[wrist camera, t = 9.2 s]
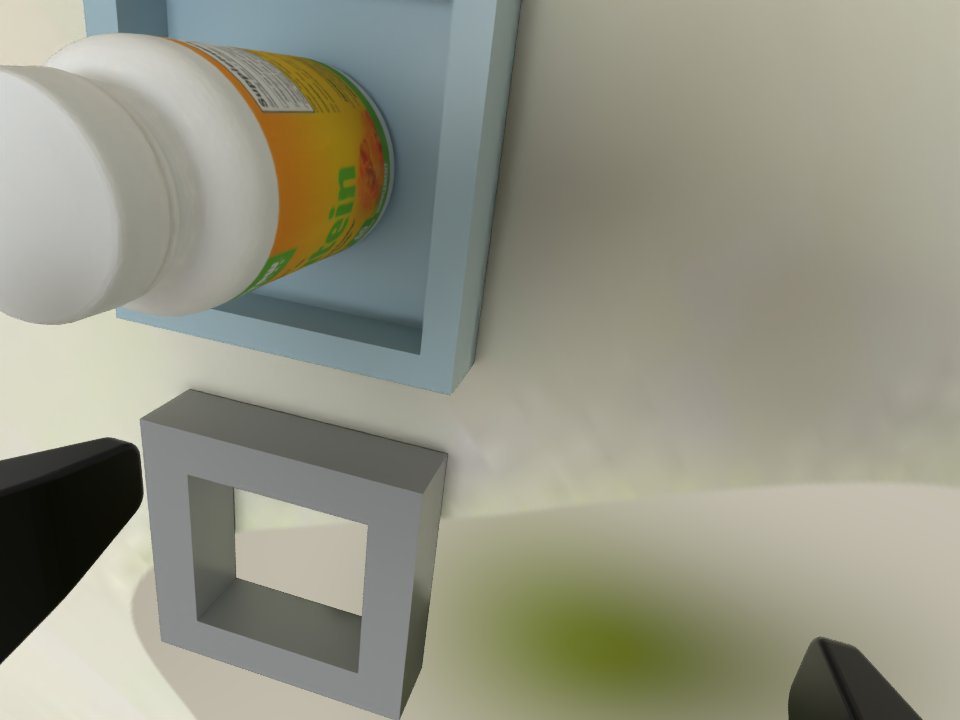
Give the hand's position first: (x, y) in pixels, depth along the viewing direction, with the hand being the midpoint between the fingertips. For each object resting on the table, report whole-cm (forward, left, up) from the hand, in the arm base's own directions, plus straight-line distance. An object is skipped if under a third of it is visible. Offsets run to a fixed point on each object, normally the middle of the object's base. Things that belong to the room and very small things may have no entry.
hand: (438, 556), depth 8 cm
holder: (+8, +11, -12) cm, 18 cm away
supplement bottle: (+8, -3, -12) cm, 14 cm away
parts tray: (+8, -3, -12) cm, 15 cm away
